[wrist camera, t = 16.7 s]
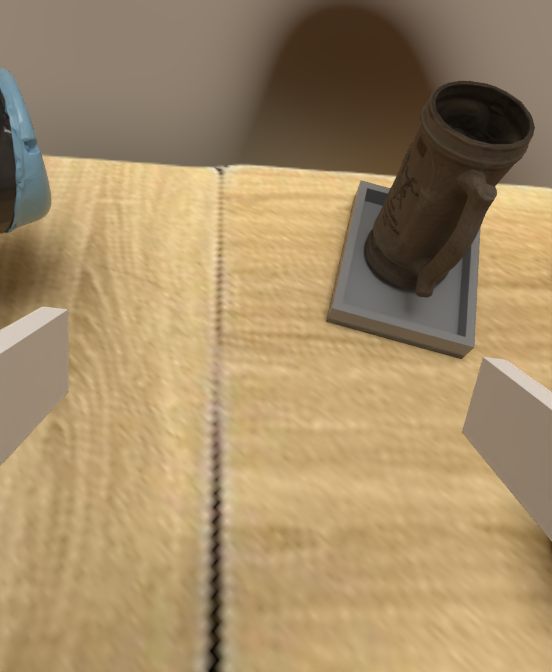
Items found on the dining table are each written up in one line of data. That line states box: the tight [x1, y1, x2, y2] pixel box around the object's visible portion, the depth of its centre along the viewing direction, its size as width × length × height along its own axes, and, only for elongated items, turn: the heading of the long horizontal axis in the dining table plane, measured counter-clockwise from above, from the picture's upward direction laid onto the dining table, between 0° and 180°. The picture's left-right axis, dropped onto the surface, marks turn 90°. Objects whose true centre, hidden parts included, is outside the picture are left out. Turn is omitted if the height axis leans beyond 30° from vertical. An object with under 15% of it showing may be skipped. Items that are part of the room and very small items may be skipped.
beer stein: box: [365, 81, 535, 297], centre depth 49 cm, size 15×11×20 cm
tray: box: [327, 181, 480, 359], centre depth 57 cm, size 16×20×3 cm
